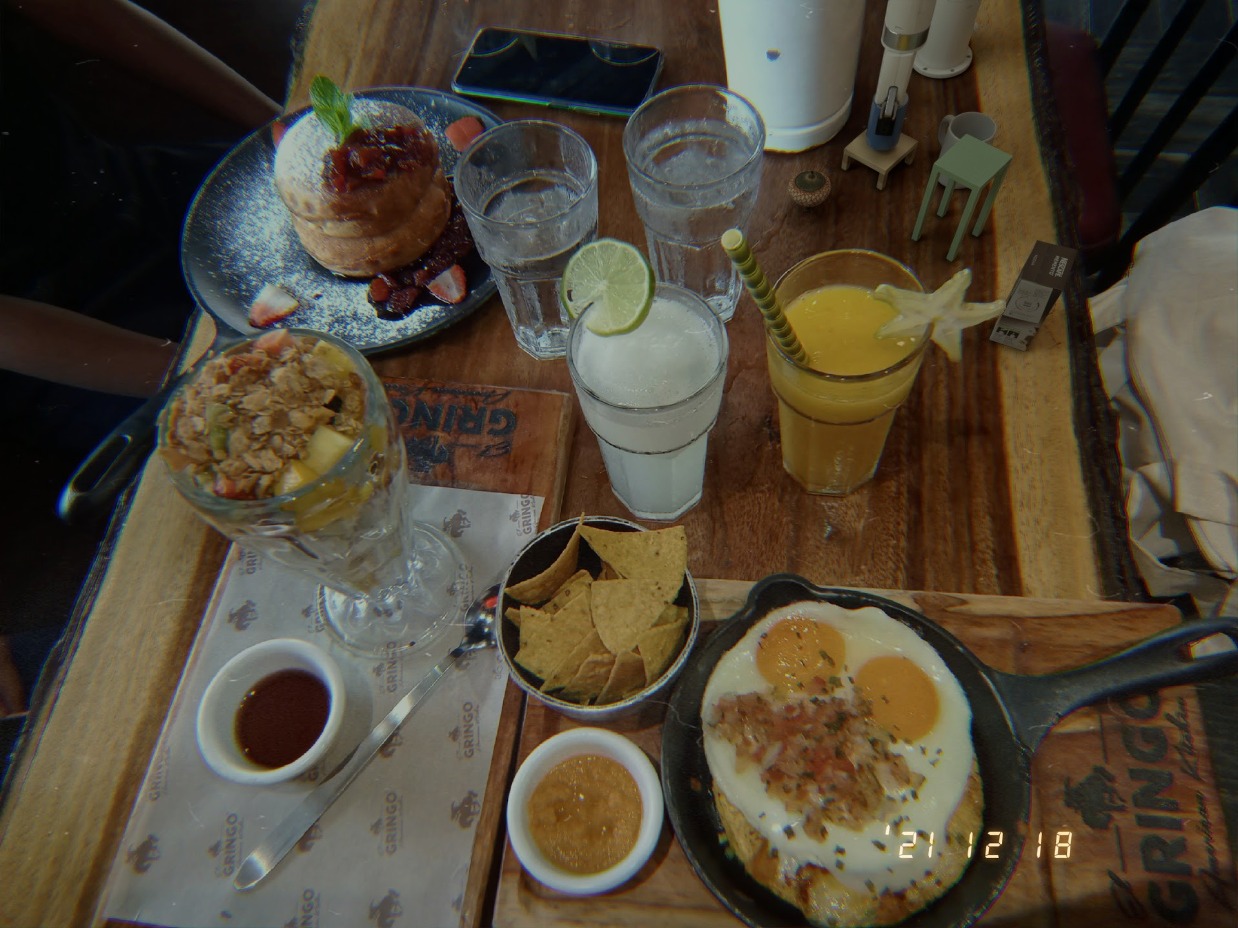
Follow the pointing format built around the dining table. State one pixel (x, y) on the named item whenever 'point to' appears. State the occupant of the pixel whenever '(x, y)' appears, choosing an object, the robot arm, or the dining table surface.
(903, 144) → the low shelf
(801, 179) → the acorn
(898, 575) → the dining table surface
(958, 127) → the mug
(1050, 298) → the coffee box
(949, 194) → the tall green stool
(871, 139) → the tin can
